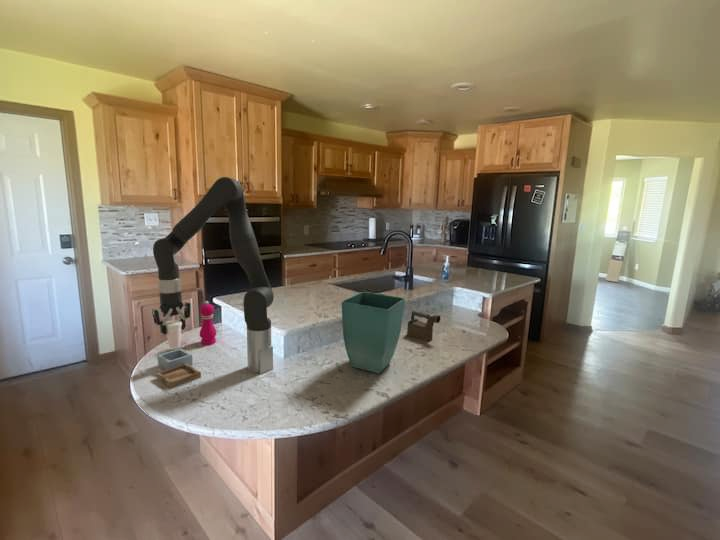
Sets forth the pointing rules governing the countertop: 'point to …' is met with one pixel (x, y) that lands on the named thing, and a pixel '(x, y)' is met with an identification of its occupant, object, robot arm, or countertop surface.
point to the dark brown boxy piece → (422, 326)
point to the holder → (174, 359)
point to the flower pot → (371, 329)
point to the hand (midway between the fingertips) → (173, 331)
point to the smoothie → (174, 332)
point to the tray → (178, 375)
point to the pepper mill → (207, 325)
